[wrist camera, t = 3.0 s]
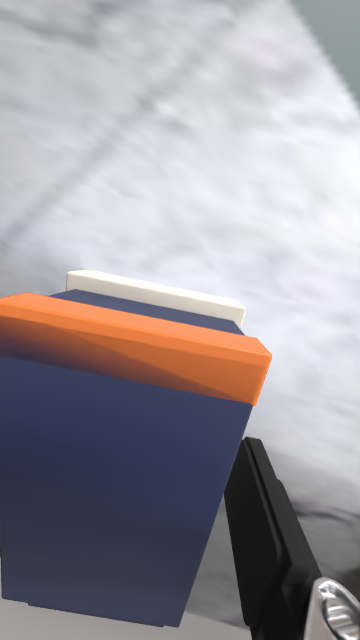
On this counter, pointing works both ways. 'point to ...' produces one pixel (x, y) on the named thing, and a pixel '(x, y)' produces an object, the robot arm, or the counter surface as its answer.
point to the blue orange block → (117, 441)
